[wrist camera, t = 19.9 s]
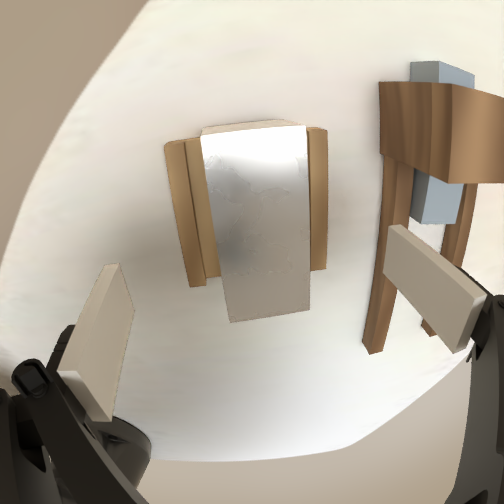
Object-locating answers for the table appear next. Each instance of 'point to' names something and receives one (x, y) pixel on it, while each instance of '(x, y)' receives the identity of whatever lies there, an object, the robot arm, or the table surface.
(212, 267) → the tan tray
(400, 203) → the brown wooden forked piece
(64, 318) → the table surface
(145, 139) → the table surface
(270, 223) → the block
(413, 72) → the block
